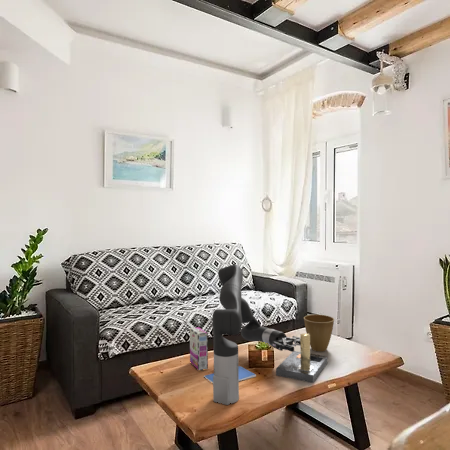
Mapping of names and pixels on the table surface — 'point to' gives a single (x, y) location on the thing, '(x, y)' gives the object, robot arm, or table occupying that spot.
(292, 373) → the grey flat block
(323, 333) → the plant pot
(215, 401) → the robot arm
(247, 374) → the blue notebook
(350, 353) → the table surface
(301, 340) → the barrel peg
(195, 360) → the candy bar box
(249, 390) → the table surface
